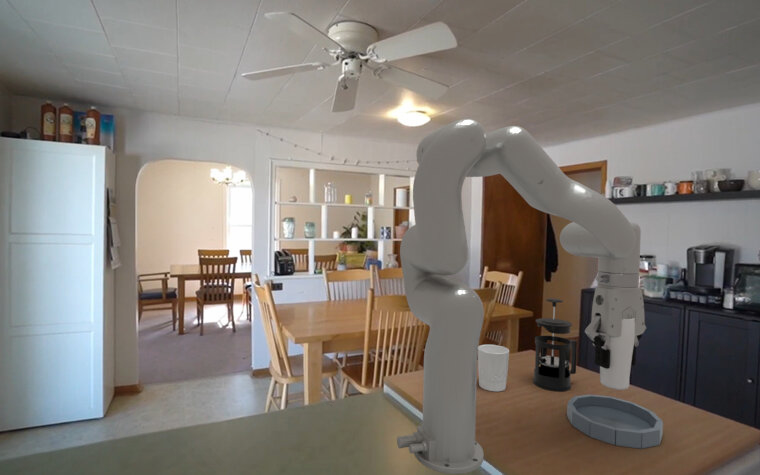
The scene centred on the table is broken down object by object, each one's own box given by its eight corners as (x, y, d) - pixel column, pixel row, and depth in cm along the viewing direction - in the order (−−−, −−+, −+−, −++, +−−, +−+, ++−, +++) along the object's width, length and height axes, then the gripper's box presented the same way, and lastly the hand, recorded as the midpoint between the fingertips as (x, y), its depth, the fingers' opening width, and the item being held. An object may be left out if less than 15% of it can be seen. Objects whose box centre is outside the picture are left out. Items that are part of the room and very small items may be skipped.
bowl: (616, 453, 74) (617, 437, 74) (551, 412, 90) (551, 399, 90) (682, 440, 79) (682, 425, 79) (609, 403, 96) (609, 391, 96)
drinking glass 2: (638, 393, 81) (641, 320, 80) (602, 390, 82) (604, 318, 82) (625, 381, 87) (627, 313, 87) (591, 378, 89) (593, 311, 88)
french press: (542, 392, 102) (545, 302, 101) (524, 378, 111) (526, 296, 110) (584, 390, 103) (587, 302, 103) (563, 377, 113) (565, 295, 112)
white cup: (470, 383, 107) (471, 346, 106) (493, 379, 110) (494, 343, 110) (490, 394, 99) (491, 355, 99) (514, 390, 103) (515, 351, 103)
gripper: (600, 284, 78) (597, 375, 78) (665, 281, 83) (662, 367, 84) (571, 279, 85) (568, 362, 86) (632, 277, 90) (630, 355, 91)
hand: (615, 364), depth 85 cm, fingers closed on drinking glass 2, 6 cm apart
